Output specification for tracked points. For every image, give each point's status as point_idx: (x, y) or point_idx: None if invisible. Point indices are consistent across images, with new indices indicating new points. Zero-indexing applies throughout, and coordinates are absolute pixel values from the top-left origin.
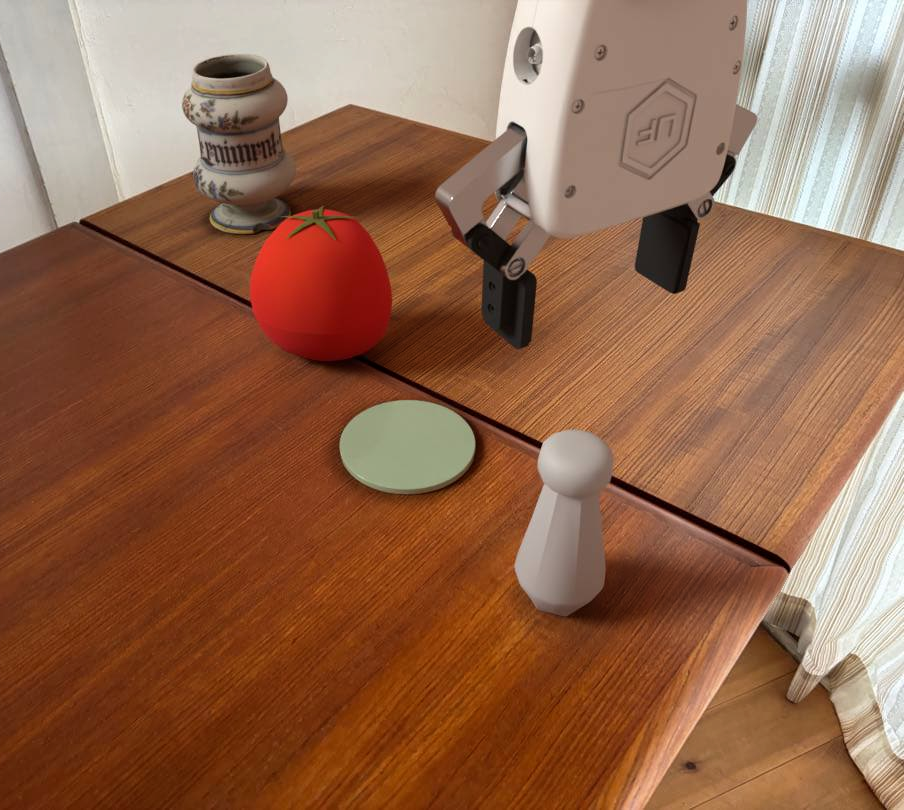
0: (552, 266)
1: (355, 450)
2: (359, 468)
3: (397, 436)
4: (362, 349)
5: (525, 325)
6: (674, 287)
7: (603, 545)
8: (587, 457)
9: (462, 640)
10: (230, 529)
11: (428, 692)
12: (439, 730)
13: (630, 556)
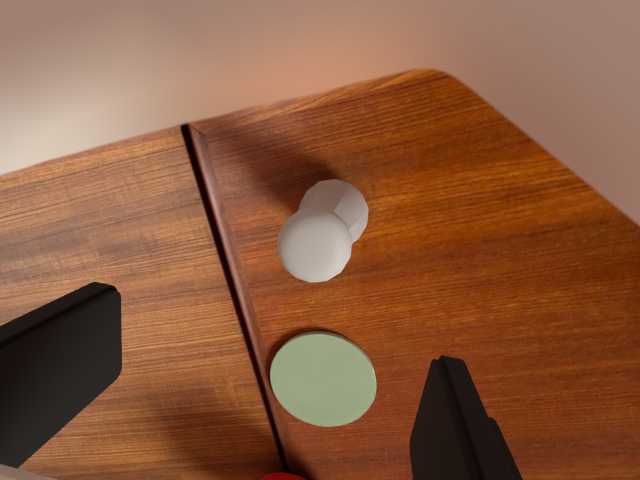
0: (86, 446)
1: (360, 400)
2: (370, 385)
3: (324, 390)
4: (287, 476)
5: (467, 389)
6: (109, 294)
7: (305, 198)
8: (316, 233)
9: (421, 221)
10: (482, 401)
11: (472, 204)
12: (488, 177)
13: (268, 197)
